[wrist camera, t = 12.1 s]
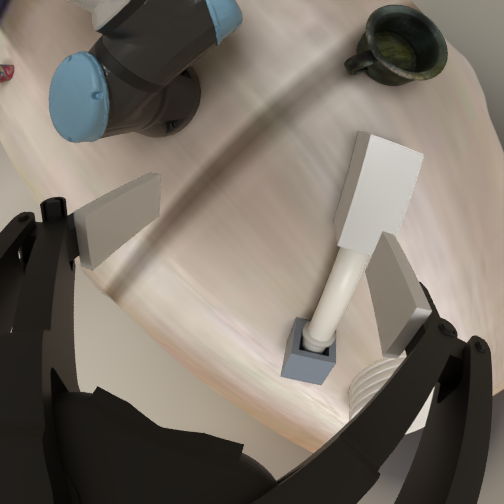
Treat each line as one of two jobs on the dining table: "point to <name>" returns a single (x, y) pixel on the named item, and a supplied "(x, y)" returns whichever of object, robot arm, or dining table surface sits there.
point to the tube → (333, 300)
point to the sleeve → (375, 192)
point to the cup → (6, 72)
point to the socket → (306, 358)
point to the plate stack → (371, 383)
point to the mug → (399, 47)
